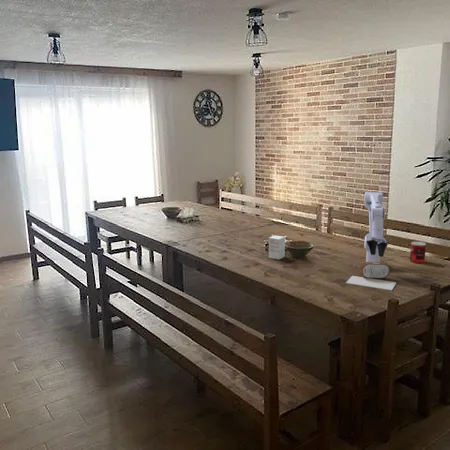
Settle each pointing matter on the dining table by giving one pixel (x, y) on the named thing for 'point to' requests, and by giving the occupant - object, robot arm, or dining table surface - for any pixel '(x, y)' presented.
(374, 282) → the mat
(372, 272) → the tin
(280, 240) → the supplement box
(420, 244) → the canned food
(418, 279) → the dining table surface
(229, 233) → the dining table surface
